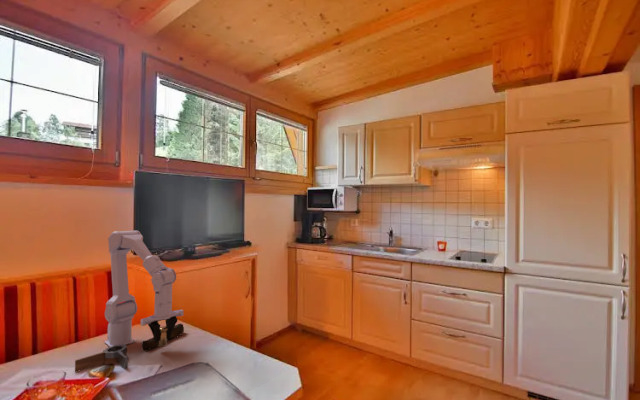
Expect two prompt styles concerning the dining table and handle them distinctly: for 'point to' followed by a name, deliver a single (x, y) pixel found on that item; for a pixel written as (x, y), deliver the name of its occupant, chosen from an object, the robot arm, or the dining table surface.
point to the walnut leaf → (93, 361)
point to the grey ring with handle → (117, 354)
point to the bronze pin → (163, 336)
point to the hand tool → (176, 332)
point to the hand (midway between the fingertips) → (162, 340)
